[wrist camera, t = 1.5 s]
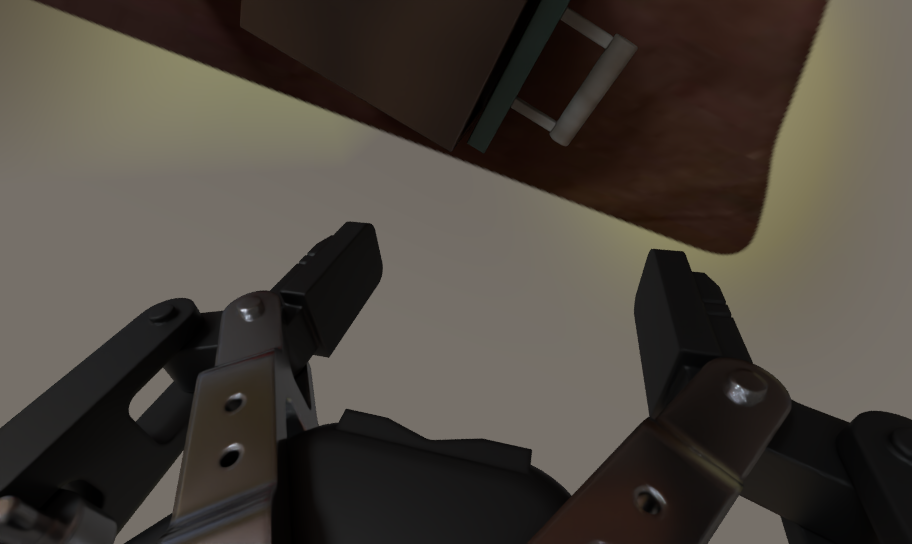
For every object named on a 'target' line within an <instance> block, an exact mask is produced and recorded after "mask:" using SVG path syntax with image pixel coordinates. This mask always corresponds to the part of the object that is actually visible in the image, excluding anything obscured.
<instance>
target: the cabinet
mask: <svg viewBox="0 0 912 544" xmlns="http://www.w3.org/2000/svg"><path fill="white" fill-rule="evenodd" d="M538 2H539V0H241V15H240V27H241V28H243V29H245V30H247V31H248V32H250V33H252V34H253V35H255V36H257V37H258V38H260V39H262V40H263V41H265V42H267V43H268V44H270V45H272V46H273V47H275V48H277V49H278V50H280V51H282V52H283V53H285V54H287V55H289V56H290V57H292V58H294V59H295V60H297V61H299V62H300V63H302V64H304V65H305V66H307V67H309V68H310V69H312V70H314V71H315V72H317V73H319V74H320V75H322V76H324V77H326V78H327V79H329V80H331V81H332V82H334V83H336V84H337V85H339V86H341V87H342V88H344V89H346V90H347V91H349V92H351V93H352V94H354V95H356V96H357V97H359V98H361V99H363V100H364V101H366V102H368V103H369V104H371V105H373V106H374V107H376V108H378V109H379V110H381V111H383V112H384V113H386V114H388V115H389V116H391V117H393V118H394V119H396V120H398V121H399V122H401V123H403V124H405V125H406V126H408V127H410V128H411V129H413V130H415V131H416V132H418V133H420V134H421V135H423V136H425V137H426V138H428V139H430V140H431V141H433V142H435V143H436V144H438V145H440V146H442V147H443V148H445V149H447V150H448V151H450V152H452V151H453V149H454V148H455V147H456V145H457V144H458V143H459V141H460V140H461V139H462V137H463V136H464V135H465V134H466V132H467V131H468V130H469V128H470V127H471V126H472V124H473V123H474V122H475V120H476V119H477V118H478V116H479V115H480V114H481V112H482V110H483V108H484V107H485V105H486V103H487V101H488V99H489V97H490V95H491V93H492V91H493V89H494V87H495V85H496V83H497V81H498V79H499V77H500V76H501V74H502V72H503V70H504V68H505V66H506V64H507V62H508V60H509V58H510V56H511V54H512V52H513V50H514V48H515V46H516V44H517V43H518V41H519V39H520V37H521V35H522V33H523V31H524V29H525V27H526V25H527V23H528V21H529V19H530V17H531V15H532V13H533V11H534V10H535V8H536V6H537V4H538Z"/></svg>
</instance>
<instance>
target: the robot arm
mask: <svg viewBox="0 0 912 544" xmlns="http://www.w3.org/2000/svg"><path fill="white" fill-rule="evenodd" d="M382 270H383V265H382V260H381V255H380V250H379V246H378V241H377V237H376V232H375V228H374V226H373V225H372V224H370V223H360V222H359V223H358V222H346V223H345V224H344V225H343V226H342V227H341V228H340V229H339V230H338V231H337V232H336V233H335V234H334V235H331V236H330V237H328V238H326V239H324V240H323V241H321V242H319V243H317V244H316V245H315V246H314V247H313V248H312V249H311V250H310V251H309V252H308V254H307V256H306V255H305V256H304V257H303V258H302V259H301V260H300V261H299V264H296V265H295V266H294V267H293V268H292V269H291V270H290V271H289V272H288V273H287V274H286V275H285V276H284V277H283V278H282V279H281V280H280V281H279V282H278V283H277V284H276V285H275V286H274V287H273V288H272V289H271V290H270V291H256V292H252V293H248V294H246V295H243V296H241V297H239V298H237V299H236V300H234V301H233V302H231V303H230V304H229V305H228V306H227V307H226V308H225V310H224V311H217V312H206V313H200V312H199V310H198V309H197V307H196V305H195V304H194V302H193V301H192V300H190V299H186V298H175V299H170V300H167V301H164V302H161V303H158V304H156V305H154V306H152V307H150V308H149V309H147V310H146V311H144V312H143V313H141V314H140V315H139V316H138V317H137V318H135V319H134V320H133V321H132V322H130V323H129V324H128V325H127V326H126V327H124V328H123V329H122V330H121V331H119V332H118V333H117V334H116V335H114V336H113V337H112V338H111V339H110V340H108V341H107V342H106V343H105V344H104V345H102V346H101V347H100V348H98V349H97V350H96V351H95V352H94V353H92V354H91V355H90V356H89V357H87V358H86V359H85V360H84V361H82V362H81V363H80V364H79V365H77V366H76V367H75V368H74V369H73V370H71V371H70V372H69V373H68V374H67V375H65V376H64V377H63V378H62V379H60V380H59V381H58V382H57V383H55V384H54V385H53V386H52V387H50V388H49V389H48V390H47V391H46V392H44V393H43V394H42V395H41V396H39V397H38V398H37V399H36V400H34V401H33V402H32V403H31V404H29V405H28V406H27V407H26V408H25V409H23V410H22V411H21V412H20V413H18V414H17V415H16V416H15V417H13V418H12V419H11V420H10V421H9V422H7V423H6V424H5V425H4V426H2V427H1V428H0V544H113V543H114V541H115V538H116V536H117V534H118V533H119V532H120V531H121V529H122V528H123V527H124V525H125V524H126V523H127V522H128V520H129V519H130V518H131V517H132V515H133V514H134V513H135V511H136V510H137V509H138V508H139V506H140V505H141V504H142V502H143V501H144V500H145V498H146V497H147V496H148V495H149V493H150V492H151V491H152V490H153V488H154V487H155V486H156V485H157V483H158V482H159V481H160V479H161V478H162V477H163V476H164V474H165V473H166V472H167V471H168V469H169V468H170V467H171V466H172V464H173V463H174V462H175V460H176V459H177V457H178V456H179V455H180V454H181V453H182V451H183V450H184V452H183V458H182V463H181V469H180V475H179V480H178V486H177V491H176V497H175V502H174V508H173V513H171V514H170V515H168V516H167V517H165V518H164V519H162V520H161V521H159V522H157V523H156V524H154V525H153V526H151V527H149V528H148V529H146V530H145V531H143V532H142V533H140V534H138V535H137V536H135V537H134V538H132V539H131V540H129V541H127V542H126V543H124V544H708V542H709V541H710V539H711V537H712V536H713V534H714V533H715V531H716V530H717V528H718V527H719V525H720V524H721V522H722V521H723V519H724V518H725V516H726V515H727V513H728V511H729V510H730V508H731V507H732V505H733V504H734V502H735V501H736V499H737V497H738V496H739V495H740V496H742V497H744V498H746V499H748V500H750V501H752V502H754V503H756V504H758V505H760V506H762V507H764V508H766V509H768V510H770V511H772V512H774V513H776V514H778V515H780V516H781V519H782V522H783V526H784V529H785V532H786V536H787V539H788V542H789V544H912V420H911V419H909V418H906V417H903V416H900V415H897V414H893V413H889V412H883V411H868V412H864V413H861V414H859V415H858V416H857V417H856V418H855V419H854V420H852V421H851V422H850V423H849V422H846V421H844V420H841V419H839V418H836V417H833V416H831V415H828V414H825V413H823V412H820V411H817V410H815V409H812V408H809V407H807V406H804V405H802V404H800V403H797V402H795V401H793V400H791V398H790V395H789V393H788V391H787V390H786V388H785V387H784V386H783V385H782V383H781V382H780V381H779V380H778V379H776V378H775V377H774V376H773V375H772V374H770V373H769V372H768V371H766V370H764V369H763V368H761V367H759V366H757V365H755V364H753V362H752V360H751V358H750V355H749V353H748V351H747V348H746V346H745V344H744V342H743V339H742V337H741V335H740V333H739V330H738V328H737V326H736V324H735V321H734V319H733V318H732V317H731V312H730V310H729V308H728V305H726V301H725V299H724V296H723V294H722V292H721V289H720V287H719V286H718V285H717V284H716V283H715V282H714V281H713V280H711V279H710V278H709V277H708V276H707V275H706V274H705V273H700V272H692V271H691V268H690V265H689V263H688V260H687V257H686V255H685V253H684V252H683V251H671V250H660V249H659V250H658V249H651V250H650V252H649V254H648V257H647V260H646V263H645V267H644V270H643V273H642V277H641V280H640V283H639V286H638V290H637V293H636V297H635V305H634V316H635V323H636V329H637V336H638V343H639V350H640V356H641V362H642V369H643V376H644V382H645V389H646V396H647V403H648V408H649V416H650V417H648V418H647V419H645V420H644V421H643V422H642V423H641V424H640V425H639V426H638V427H637V428H636V429H635V430H634V431H633V432H632V433H631V434H630V435H629V436H628V437H627V438H626V439H625V440H624V441H623V443H622V444H621V445H620V446H619V447H618V448H617V449H616V450H615V451H614V452H613V453H612V454H611V455H610V456H609V457H608V458H607V459H606V460H605V461H604V462H603V464H602V465H601V466H600V467H599V468H598V469H597V470H596V471H595V472H594V473H593V474H592V475H591V476H590V477H589V478H588V480H586V481H585V483H584V484H583V485H582V486H581V487H580V488H579V489H578V490H577V491H576V492H575V493H574V494H573V495H572V496H571V495H570V493H569V492H567V490H566V489H565V488H564V487H563V486H562V485H560V484H559V483H558V482H556V480H554V479H553V478H552V477H550V476H549V475H547V474H546V473H544V472H543V471H542V470H540V469H538V468H536V467H534V466H532V465H530V464H531V455H532V450H531V449H527V448H523V447H518V446H514V445H509V444H504V443H500V442H495V441H490V440H486V439H455V440H429V439H426V438H424V437H422V436H420V435H419V434H417V433H415V432H413V431H411V430H409V429H407V428H405V427H404V426H402V425H400V424H398V423H396V422H394V421H393V420H391V419H389V418H386V417H381V416H377V415H373V414H368V413H363V412H358V411H354V410H350V409H346V410H345V412H344V414H343V415H342V417H341V419H340V421H339V423H331V424H325V425H322V426H319V425H318V421H317V414H316V406H315V398H314V390H313V382H312V374H311V368H310V365H309V362H308V361H309V360H310V358H311V357H312V355H317V356H323V357H328V358H329V357H330V355H331V354H332V352H333V351H334V350H335V348H336V347H337V345H338V343H339V342H340V340H341V339H342V337H343V336H344V334H345V333H346V332H347V330H348V329H349V327H350V326H351V324H352V323H353V321H354V320H355V318H356V317H357V315H358V314H359V312H360V311H361V309H362V308H363V306H364V305H365V303H366V301H367V300H368V299H369V297H370V296H371V294H372V293H373V291H374V290H375V288H376V287H377V285H378V284H379V282H380V280H381V277H382ZM162 368H164V369H165V370H166V371H167V373H168V374H169V375H170V376H171V378H172V379H173V380H174V382H173V383H172V384H171V385H170V386H169V387H168V388H167V389H166V390H165V391H164V392H163V393H162V394H161V396H159V398H158V399H157V400H156V401H155V402H154V403H153V404H152V405H151V406H150V407H149V408H148V409H147V410H146V411H145V412H144V413H143V414H142V416H141V417H140V418H139V419H138V420H137V421H136V422H135V421H134V420H133V419H132V418H131V417H130V415H129V405H130V402H131V400H132V398H133V397H134V396H135V394H136V393H137V392H138V391H139V390H140V389H141V388H142V387H143V386H144V385H145V384H146V383H147V382H148V381H149V380H150V379H151V378H152V377H153V376H155V374H157V373H158V372H159V370H160V369H162Z"/></svg>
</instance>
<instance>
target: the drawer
mask: <svg viewBox="0 0 912 544" xmlns="http://www.w3.org/2000/svg"><path fill="white" fill-rule="evenodd" d="M569 2H570V0H541V1H540V3H539V5H538V7H537V9H536V11H535V13H534V15H533V16H532V18H531V20H530V22H529V24H528V26H527V28H526V30H525V32H524V34H523V36H522V38H521V40H520V42H519V43H518V45H517V47H516V49H515V51H514V53H513V55H512V57H511V59H510V61H509V63H508V65H507V67H506V69H505V71H504V72H503V74H502V76H501V78H500V80H499V82H498V84H497V86H496V88H495V90H494V92H493V94H492V96H491V98H490V99H489V101H488V103H487V105H486V107H485V109H484V111H483V113H482V115H481V117H480V119H479V121H478V123H477V125H476V127H475V128H474V130H473V132H472V134H471V136H470V138H469V140H468V142H467V144H469V145H471V146H472V147H474V148H476V149H477V150H479V151H481V152H482V153H485V151H486V149H487V148H488V146H489V144H490V142H491V140H492V139H493V137H494V135H495V133H496V132H497V130H498V128H499V126H500V124H501V123H502V121H503V119H504V117H505V116H506V114H507V112H508V110H509V108H510V107H511V108H512V109H514V110H516V111H517V112H519V113H520V114H522V115H524V116H525V117H527V118H529V119H530V120H532V121H533V122H535V123H537V124H538V125H540V126H542V127H543V128H545V129H546V130H548V131H550V133H549V135H550V136H551V138H552V139H553V140H554V141H556V142H557V143H559V144H561V145H563V146H568V145H569V144H570V142H571V141H572V139H573V138H574V137H575V135H576V134H577V132H578V131H579V130H580V128H581V127H582V126H583V124H584V123H585V121H586V120H587V119H588V117H589V116H590V114H591V113H592V112H593V110H594V109H595V107H596V106H597V105H598V103H599V102H600V101H601V99H602V98H603V96H604V95H605V94H606V92H607V91H608V89H609V88H610V87H611V85H612V84H613V83H614V81H615V80H616V78H617V77H618V76H619V74H620V73H621V71H622V70H623V69H624V67H625V66H626V65H627V63H628V62H629V60H630V59H631V58H632V56H633V55H634V53H635V52H636V51H637V49H638V47H637V46H636V45H634V44H633V43H632V42H630V41H629V40H627V39H626V38H624V37H623V36H621V35H619V34H615V35H614V37H613V36H612V35H610V34H609V33H607V32H606V31H604V30H603V29H601V28H600V27H598V26H596V25H595V24H593V23H592V22H590V21H589V20H587V19H586V18H584V17H583V16H581V15H580V14H578V13H577V12H575V11H574V10H572V9H570V8H569V7H567V6H568V4H569ZM566 7H567V8H566ZM560 19H561V20H562V21H563V22H565V23H566V24H568V25H569V26H571V27H572V28H574V29H575V30H577V31H579V32H580V33H582V34H583V35H585V36H586V37H588V38H589V39H591V40H592V41H594V42H595V43H597V44H599V45H600V46H602V47H603V48H605V50H604V52H603V53H602V55H601V56H600V58H599V59H598V61H597V62H596V64H595V65H594V67H593V68H592V70H591V71H590V73H589V74H588V76H587V77H586V79H585V80H584V82H583V83H582V85H581V86H580V88H579V89H578V91H577V92H576V94H575V95H574V97H573V98H572V100H571V101H570V103H569V104H568V106H567V107H566V109H565V110H564V112H563V113H562V115H561V116H560V118H559V119H558V121H557V122H556V120H554V119H552V118H551V117H549V116H548V115H546V114H544V113H543V112H541V111H540V110H538V109H536V108H535V107H533V106H531V105H530V104H528V103H527V102H525V101H523V100H522V99H520V98H519V97H516V96H517V94H518V93H519V91H520V89H521V87H522V85H523V84H524V82H525V80H526V78H527V77H528V75H529V73H530V71H531V69H532V68H533V66H534V64H535V62H536V61H537V59H538V57H539V55H540V53H541V52H542V50H543V48H544V46H545V45H546V43H547V41H548V39H549V37H550V36H551V34H552V32H553V30H554V29H555V27H556V25H557V23H558V22H559V20H560Z"/></svg>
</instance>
